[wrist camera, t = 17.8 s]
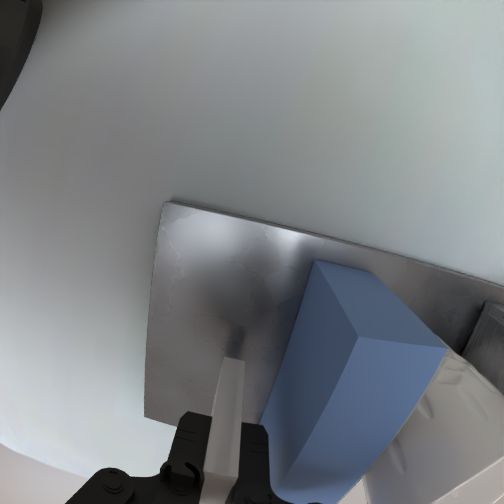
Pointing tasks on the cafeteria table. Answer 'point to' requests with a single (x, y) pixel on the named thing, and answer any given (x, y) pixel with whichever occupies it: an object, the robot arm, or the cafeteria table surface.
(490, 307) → the fixed jaw
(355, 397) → the sliding jaw
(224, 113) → the cafeteria table surface
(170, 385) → the vise bed
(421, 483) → the white cup
